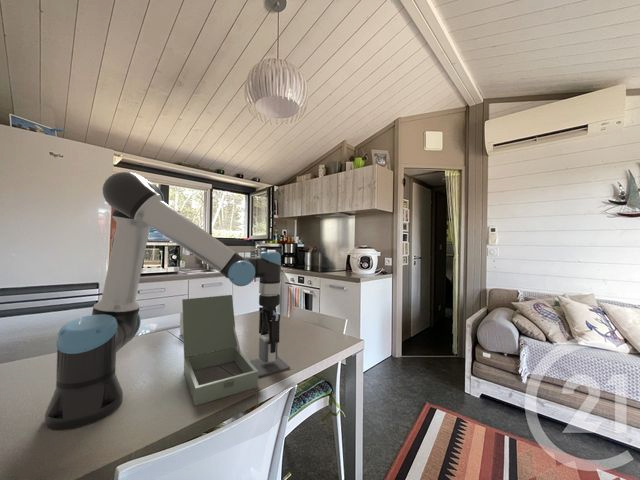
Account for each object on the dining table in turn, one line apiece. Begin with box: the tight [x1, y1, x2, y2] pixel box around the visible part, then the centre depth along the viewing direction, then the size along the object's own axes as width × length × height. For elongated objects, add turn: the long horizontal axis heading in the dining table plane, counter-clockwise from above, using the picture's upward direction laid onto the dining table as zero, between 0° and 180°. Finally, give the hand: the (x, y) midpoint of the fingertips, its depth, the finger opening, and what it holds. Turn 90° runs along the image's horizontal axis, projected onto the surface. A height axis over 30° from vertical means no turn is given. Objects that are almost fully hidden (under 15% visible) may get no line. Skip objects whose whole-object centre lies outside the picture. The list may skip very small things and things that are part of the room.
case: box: [181, 294, 259, 407], centre depth 89 cm, size 18×31×23 cm, turn 35°
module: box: [258, 334, 278, 362], centre depth 96 cm, size 5×5×8 cm
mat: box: [249, 355, 291, 379], centre depth 96 cm, size 12×12×1 cm
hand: (268, 357), depth 96 cm, fingers closed on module, 5 cm apart
